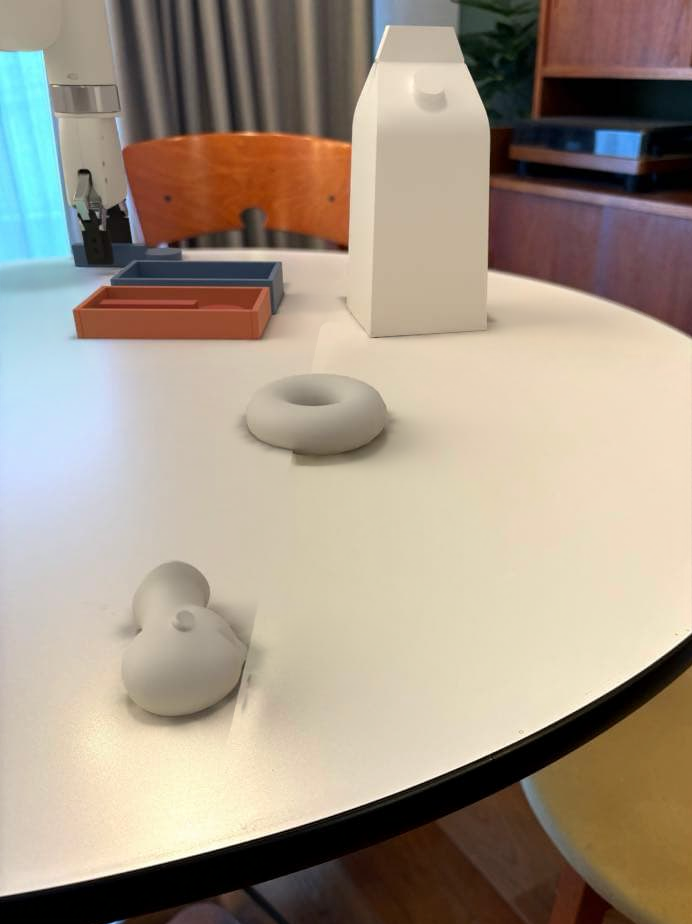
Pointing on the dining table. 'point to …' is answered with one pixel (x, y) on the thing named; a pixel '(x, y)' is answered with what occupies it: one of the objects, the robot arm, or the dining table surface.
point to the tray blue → (205, 275)
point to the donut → (316, 413)
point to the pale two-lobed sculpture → (179, 645)
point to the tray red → (175, 313)
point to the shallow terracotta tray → (160, 304)
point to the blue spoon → (128, 254)
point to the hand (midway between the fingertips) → (111, 256)
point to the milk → (419, 190)
